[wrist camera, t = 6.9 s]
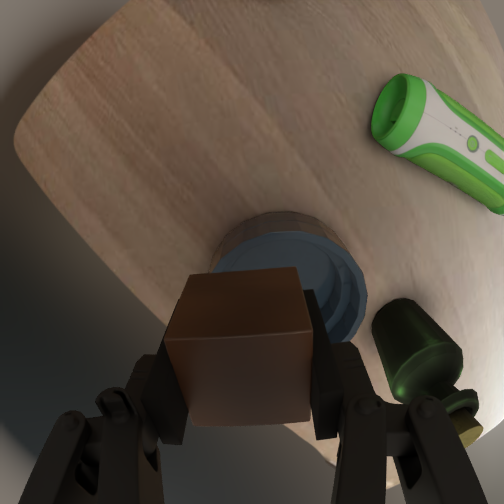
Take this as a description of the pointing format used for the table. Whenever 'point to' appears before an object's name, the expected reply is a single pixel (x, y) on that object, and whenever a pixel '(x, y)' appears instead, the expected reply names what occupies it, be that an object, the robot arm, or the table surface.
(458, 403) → the potion bottle
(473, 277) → the table surface
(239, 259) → the blue round bin
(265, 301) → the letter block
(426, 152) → the speaker
